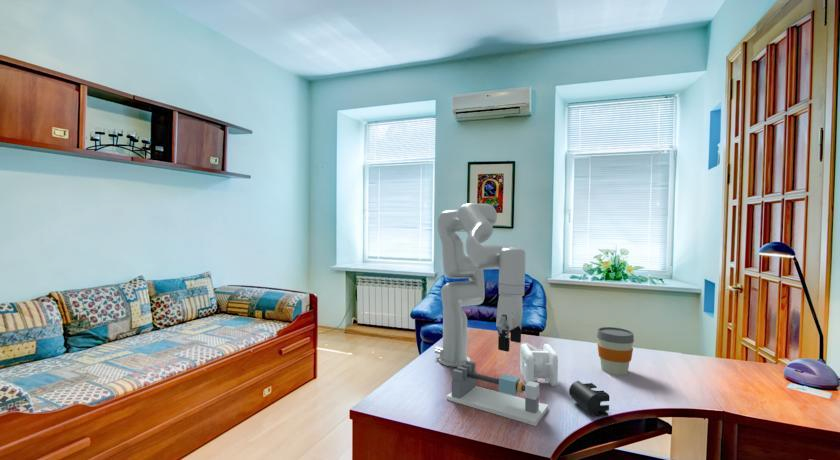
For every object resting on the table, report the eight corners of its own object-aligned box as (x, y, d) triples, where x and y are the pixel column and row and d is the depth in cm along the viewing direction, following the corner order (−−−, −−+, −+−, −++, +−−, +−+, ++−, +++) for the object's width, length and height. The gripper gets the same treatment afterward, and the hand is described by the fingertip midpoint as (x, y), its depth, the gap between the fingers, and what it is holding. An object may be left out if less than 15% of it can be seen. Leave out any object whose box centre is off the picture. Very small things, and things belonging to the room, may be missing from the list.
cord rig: (446, 399, 123) (446, 370, 123) (464, 386, 133) (464, 359, 133) (535, 426, 108) (536, 392, 108) (548, 409, 118) (548, 378, 118)
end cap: (568, 402, 123) (569, 381, 122) (589, 401, 124) (589, 379, 124) (587, 418, 113) (588, 395, 113) (610, 416, 114) (610, 393, 114)
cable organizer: (558, 391, 131) (559, 356, 131) (526, 389, 132) (526, 355, 131) (547, 373, 146) (548, 342, 146) (518, 372, 147) (518, 341, 146)
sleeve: (498, 391, 118) (498, 378, 118) (503, 386, 121) (503, 373, 121) (514, 395, 115) (515, 382, 115) (519, 390, 119) (519, 377, 119)
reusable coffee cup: (596, 373, 146) (597, 333, 146) (595, 362, 158) (596, 325, 158) (635, 379, 142) (636, 337, 141) (631, 367, 153) (632, 329, 153)
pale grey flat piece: (567, 361, 161) (567, 358, 161) (515, 367, 155) (515, 364, 155) (534, 342, 185) (534, 340, 185) (488, 347, 179) (488, 345, 179)
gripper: (509, 284, 127) (508, 336, 128) (487, 292, 113) (486, 351, 113) (533, 286, 123) (531, 341, 123) (513, 295, 108) (511, 357, 109)
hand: (509, 346), depth 118 cm, fingers open, 9 cm apart
